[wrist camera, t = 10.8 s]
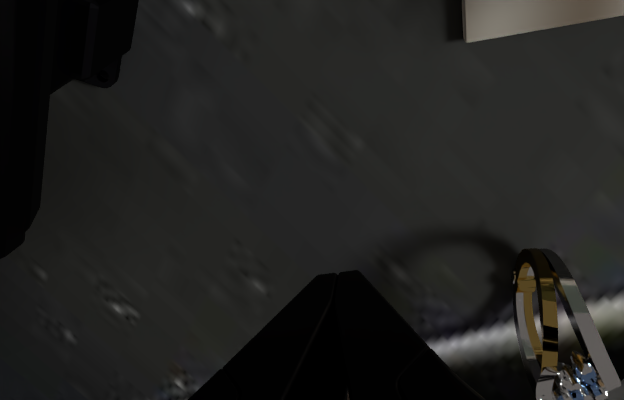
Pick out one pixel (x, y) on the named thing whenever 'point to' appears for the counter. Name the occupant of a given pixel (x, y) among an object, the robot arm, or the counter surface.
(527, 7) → the guide board
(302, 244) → the counter surface
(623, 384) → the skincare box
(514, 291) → the ring
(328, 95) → the counter surface
